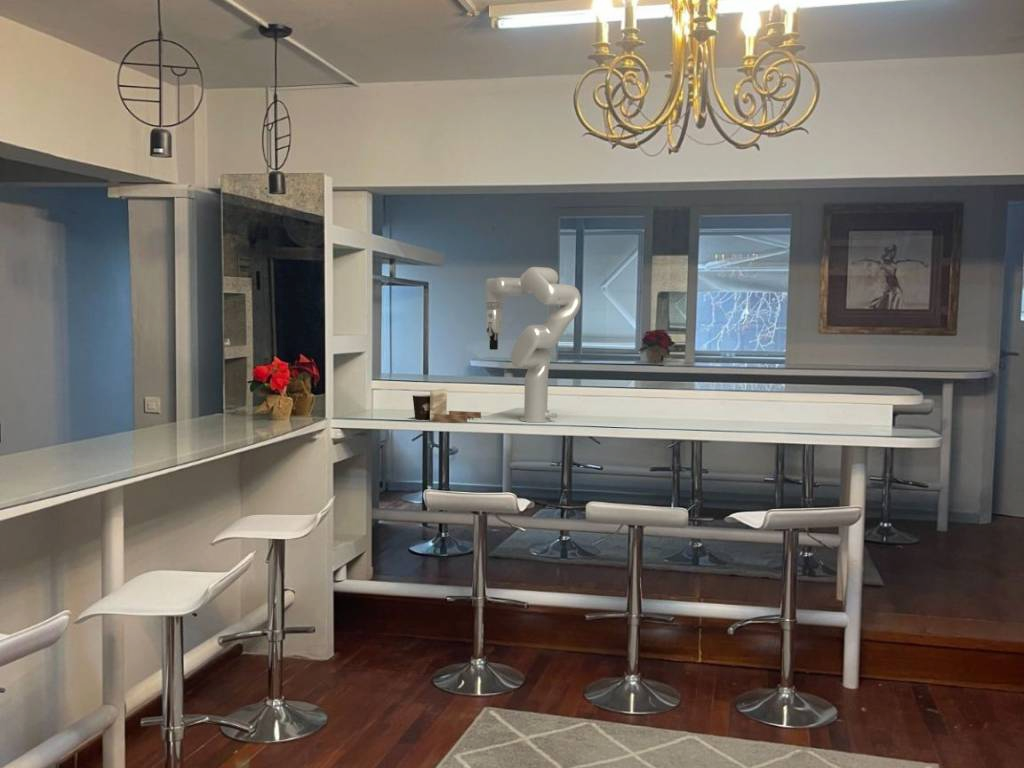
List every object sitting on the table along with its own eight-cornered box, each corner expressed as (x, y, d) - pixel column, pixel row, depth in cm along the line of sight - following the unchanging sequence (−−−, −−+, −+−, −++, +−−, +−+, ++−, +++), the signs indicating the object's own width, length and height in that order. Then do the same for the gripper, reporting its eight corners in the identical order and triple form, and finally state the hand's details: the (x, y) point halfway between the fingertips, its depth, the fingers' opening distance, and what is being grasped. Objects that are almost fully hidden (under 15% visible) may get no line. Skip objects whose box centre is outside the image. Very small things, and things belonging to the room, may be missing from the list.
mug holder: (480, 419, 403) (480, 412, 403) (466, 423, 387) (466, 415, 387) (450, 417, 407) (450, 410, 407) (434, 421, 391) (434, 414, 391)
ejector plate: (446, 417, 406) (446, 389, 405) (433, 420, 393) (433, 391, 392) (443, 417, 407) (443, 389, 406) (429, 420, 394) (430, 391, 393)
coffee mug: (412, 420, 395) (412, 396, 394) (412, 418, 403) (412, 394, 402) (440, 420, 396) (441, 396, 395) (439, 418, 404) (440, 394, 404)
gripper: (496, 306, 405) (495, 350, 406) (508, 307, 419) (507, 349, 420) (479, 306, 408) (479, 349, 409) (492, 307, 422) (491, 349, 423)
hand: (493, 349), depth 415 cm, fingers closed
